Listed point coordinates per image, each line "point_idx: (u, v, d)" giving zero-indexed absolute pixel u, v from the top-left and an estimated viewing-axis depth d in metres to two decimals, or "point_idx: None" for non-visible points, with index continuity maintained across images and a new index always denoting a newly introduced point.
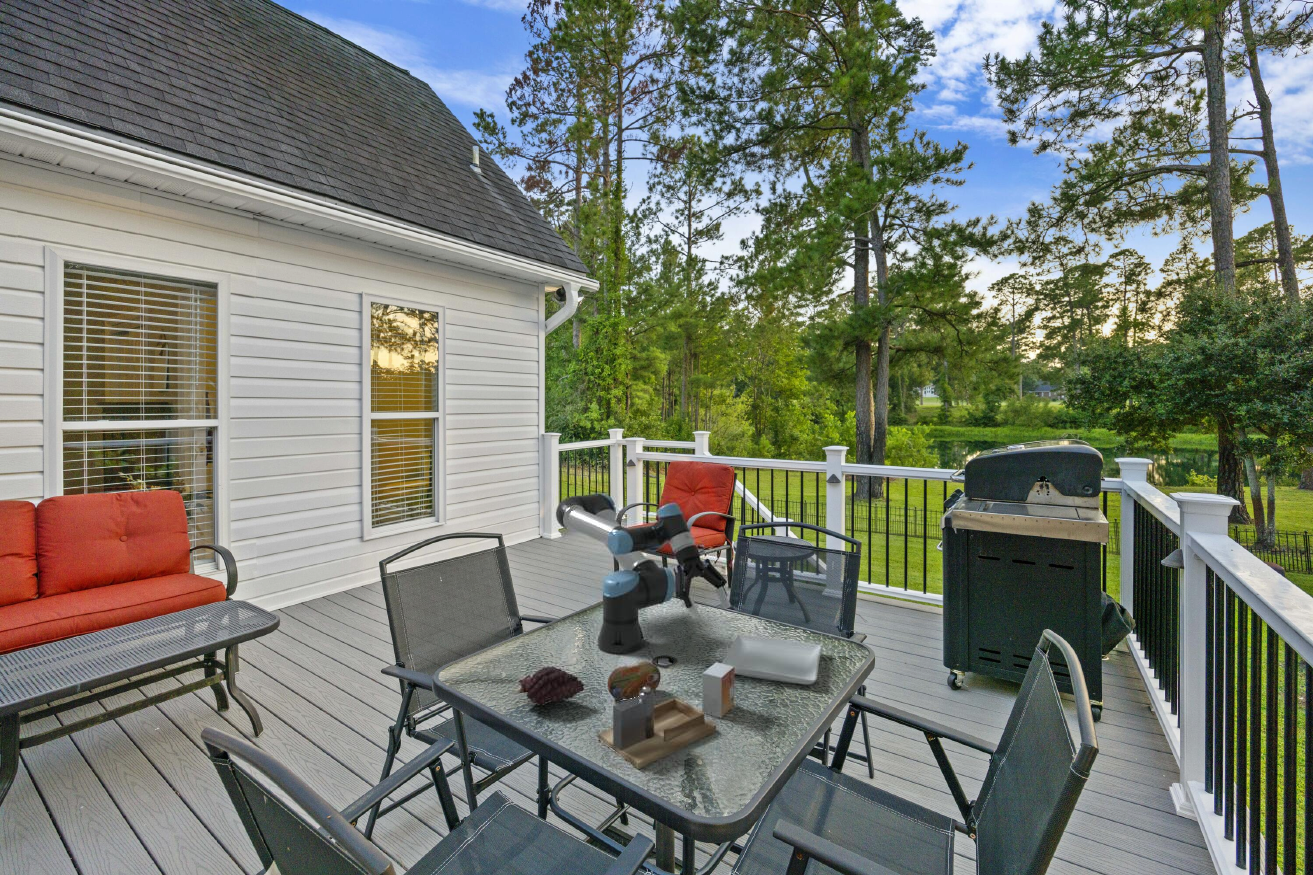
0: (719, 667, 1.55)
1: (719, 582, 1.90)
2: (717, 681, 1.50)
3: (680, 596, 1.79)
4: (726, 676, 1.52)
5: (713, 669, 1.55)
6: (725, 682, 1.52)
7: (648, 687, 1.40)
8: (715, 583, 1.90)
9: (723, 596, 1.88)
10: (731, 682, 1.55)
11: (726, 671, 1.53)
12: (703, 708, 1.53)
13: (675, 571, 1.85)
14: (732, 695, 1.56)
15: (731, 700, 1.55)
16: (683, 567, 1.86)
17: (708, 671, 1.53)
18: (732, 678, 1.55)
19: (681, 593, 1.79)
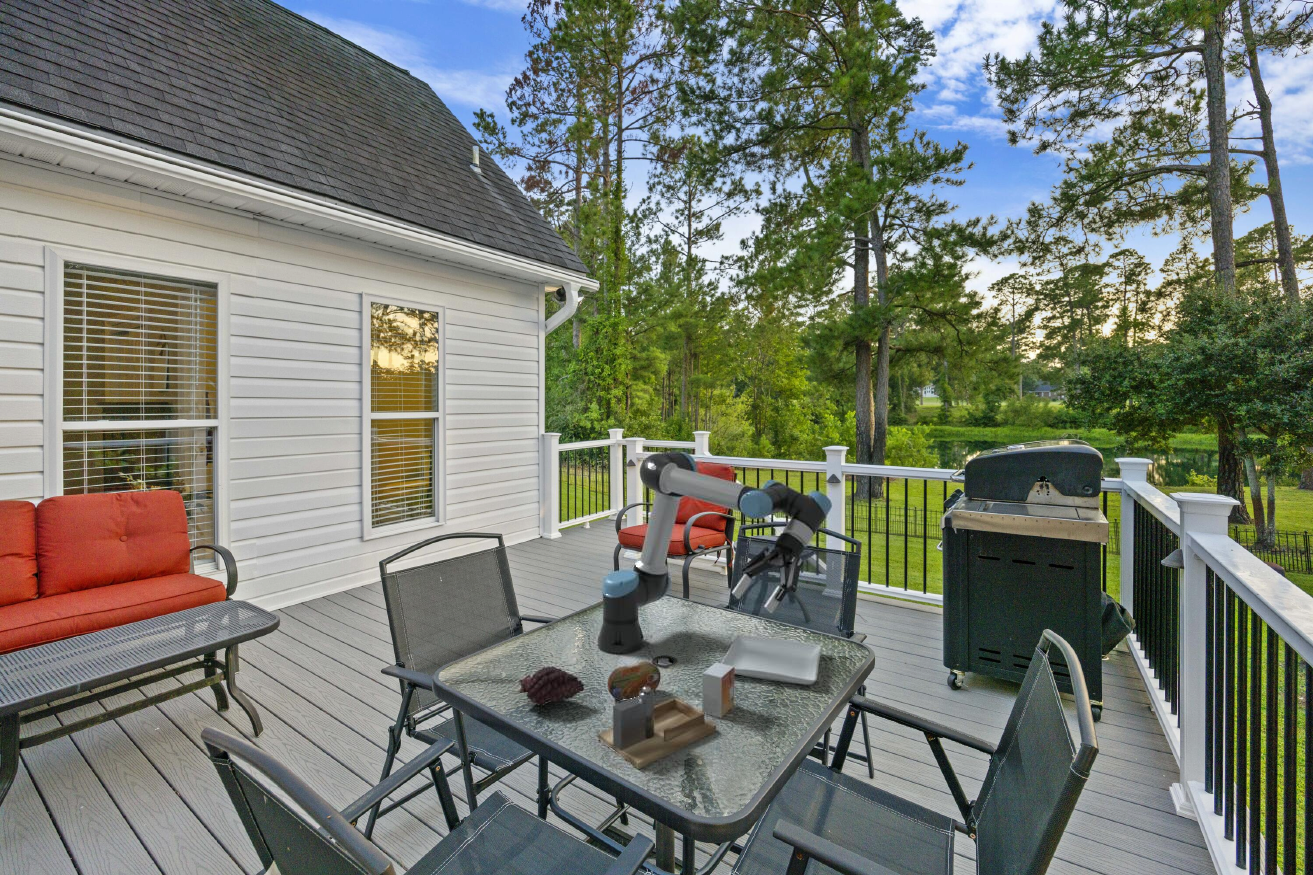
0: (719, 667, 1.55)
1: None
2: (717, 681, 1.50)
3: (790, 589, 1.53)
4: (726, 676, 1.52)
5: (713, 669, 1.55)
6: (725, 682, 1.52)
7: (648, 687, 1.40)
8: (754, 573, 1.67)
9: (744, 587, 1.66)
10: (731, 682, 1.55)
11: (726, 671, 1.53)
12: (703, 708, 1.53)
13: (798, 561, 1.58)
14: (732, 695, 1.56)
15: (731, 700, 1.55)
16: None
17: (708, 671, 1.53)
18: (732, 678, 1.55)
19: None
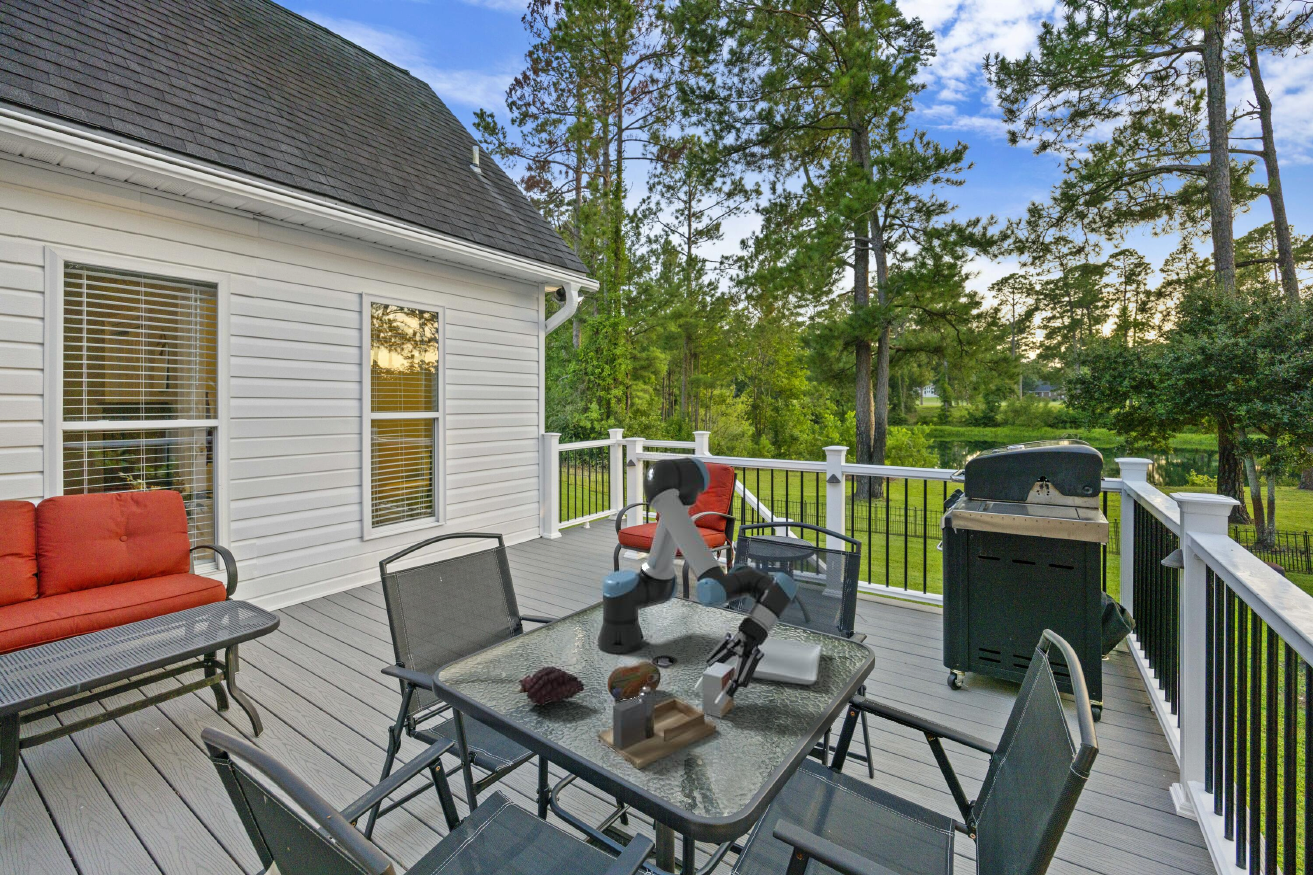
0: (719, 667, 1.55)
1: None
2: (717, 681, 1.50)
3: (741, 685, 1.49)
4: (726, 676, 1.52)
5: (713, 668, 1.55)
6: (725, 682, 1.52)
7: (648, 687, 1.40)
8: None
9: None
10: None
11: (726, 671, 1.53)
12: (703, 708, 1.53)
13: (757, 654, 1.52)
14: None
15: (731, 700, 1.55)
16: None
17: (708, 671, 1.53)
18: None
19: None
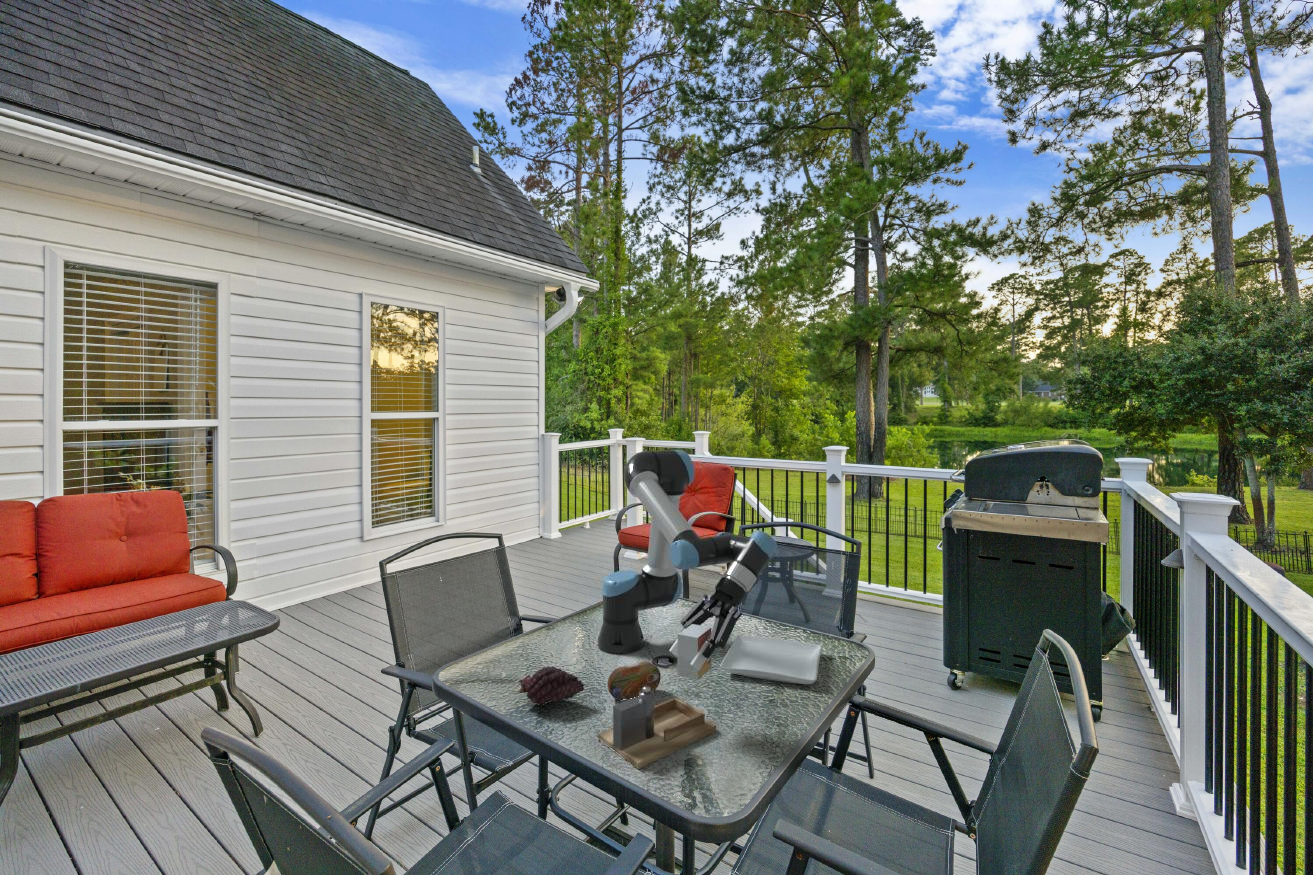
0: (695, 628, 1.48)
1: None
2: (693, 642, 1.43)
3: (718, 645, 1.42)
4: (702, 637, 1.44)
5: (689, 630, 1.47)
6: (701, 643, 1.44)
7: (648, 687, 1.40)
8: None
9: None
10: None
11: (702, 632, 1.46)
12: (678, 671, 1.45)
13: (734, 614, 1.45)
14: (709, 657, 1.48)
15: (708, 662, 1.48)
16: None
17: (684, 632, 1.46)
18: None
19: None
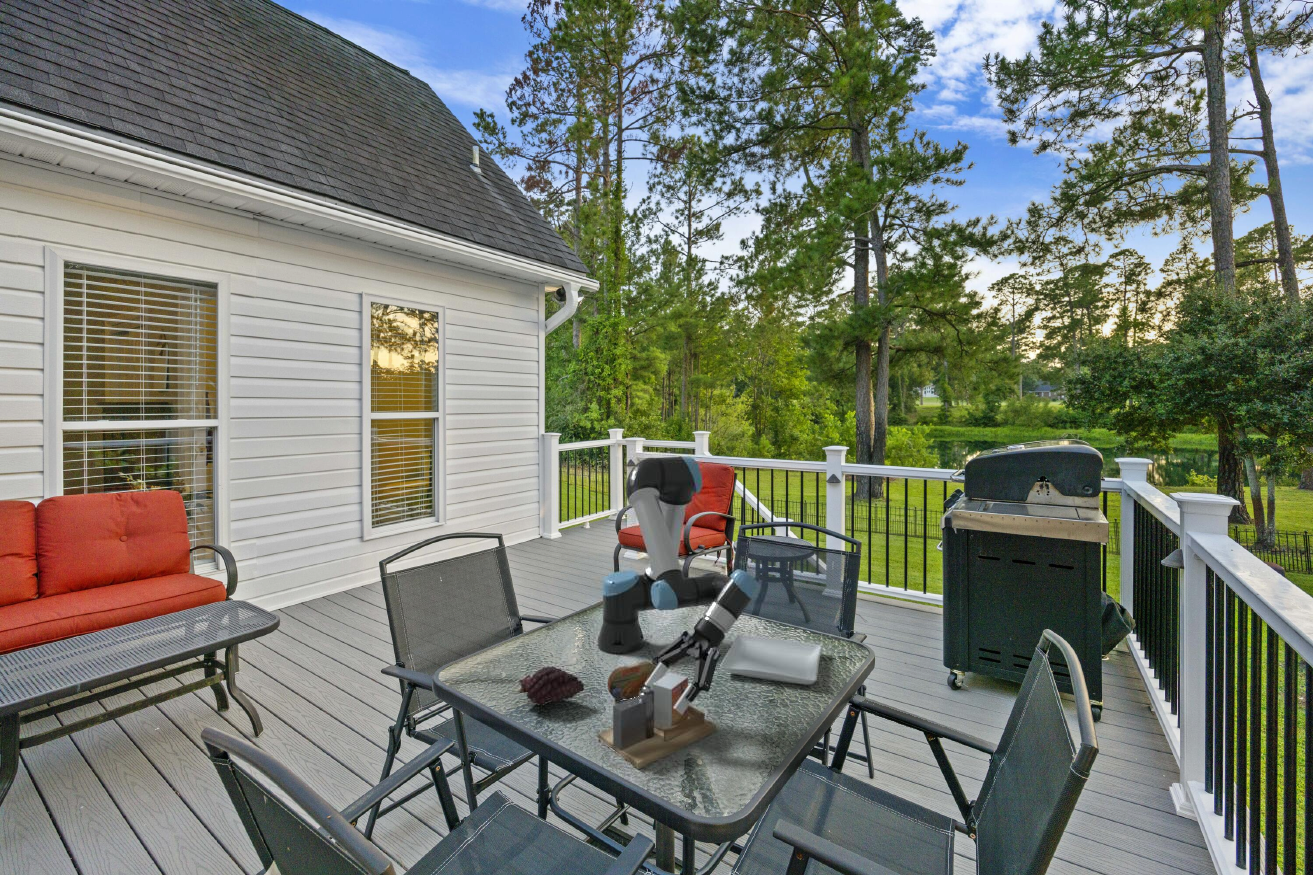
0: (671, 678, 1.46)
1: None
2: (667, 693, 1.41)
3: (702, 689, 1.38)
4: (677, 688, 1.42)
5: (665, 679, 1.45)
6: (676, 694, 1.42)
7: (648, 687, 1.40)
8: (670, 661, 1.51)
9: (659, 677, 1.50)
10: None
11: (678, 682, 1.44)
12: None
13: (714, 654, 1.42)
14: None
15: (684, 713, 1.45)
16: None
17: (659, 682, 1.44)
18: None
19: None
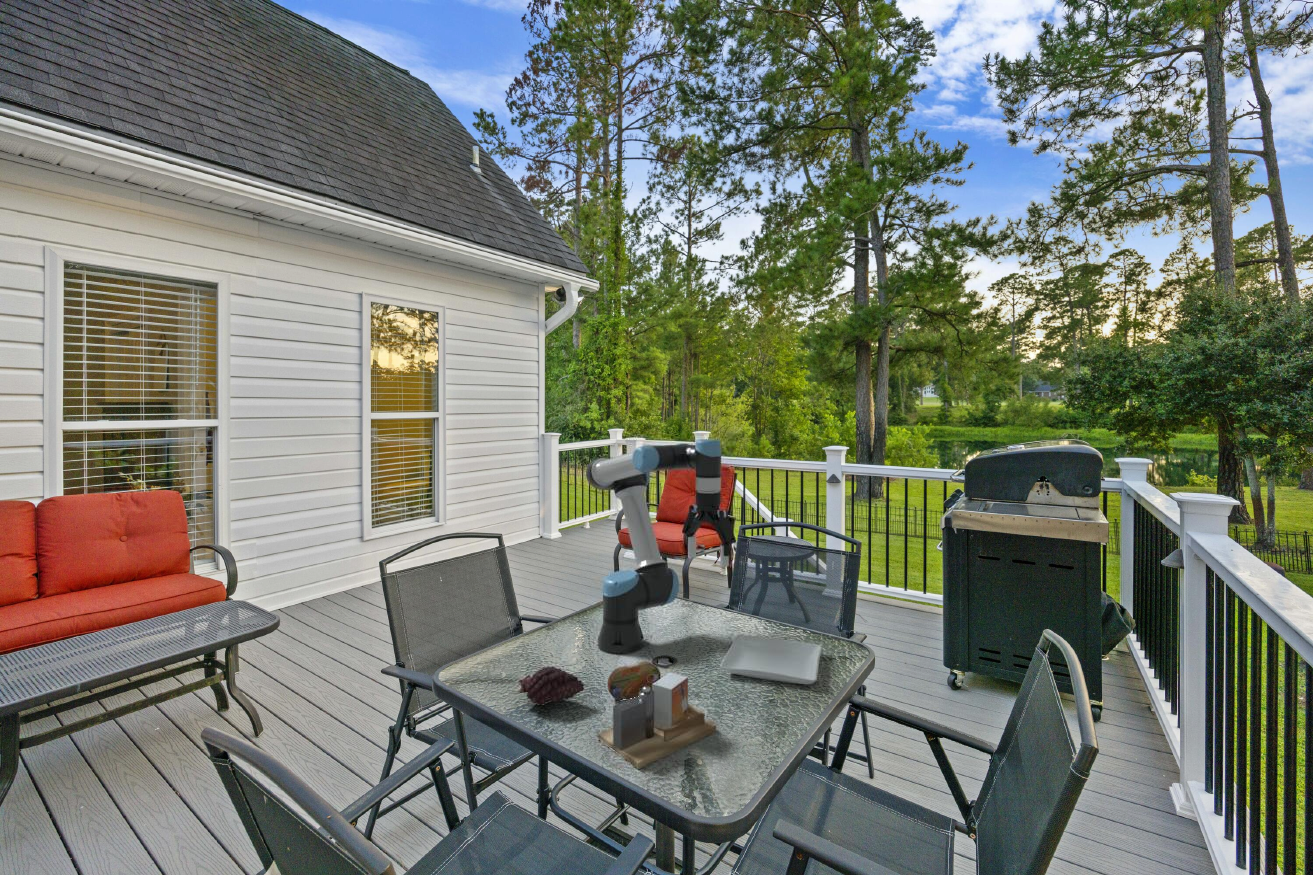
0: (671, 678, 1.46)
1: None
2: (667, 693, 1.41)
3: (731, 543, 1.71)
4: (677, 688, 1.42)
5: (665, 679, 1.45)
6: (676, 694, 1.42)
7: (648, 687, 1.40)
8: (694, 531, 1.83)
9: (694, 545, 1.84)
10: (684, 694, 1.45)
11: (678, 682, 1.44)
12: None
13: (723, 515, 1.72)
14: (685, 708, 1.46)
15: (684, 713, 1.45)
16: None
17: (659, 682, 1.44)
18: (685, 690, 1.46)
19: None
